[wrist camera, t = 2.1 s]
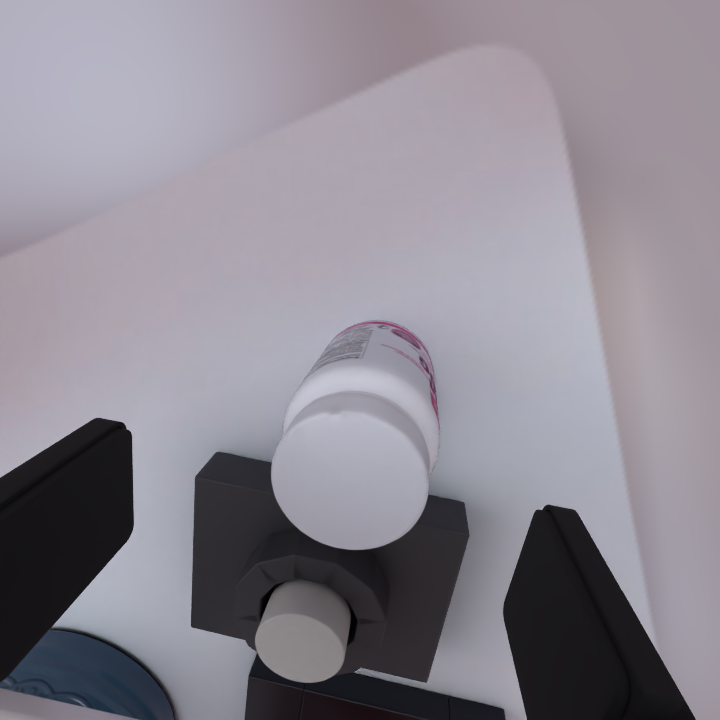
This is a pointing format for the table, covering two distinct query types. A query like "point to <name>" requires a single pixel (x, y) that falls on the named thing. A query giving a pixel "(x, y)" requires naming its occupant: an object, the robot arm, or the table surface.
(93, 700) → the canister
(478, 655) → the table surface
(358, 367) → the pill bottle
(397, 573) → the control block
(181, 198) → the table surface
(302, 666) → the button
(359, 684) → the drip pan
